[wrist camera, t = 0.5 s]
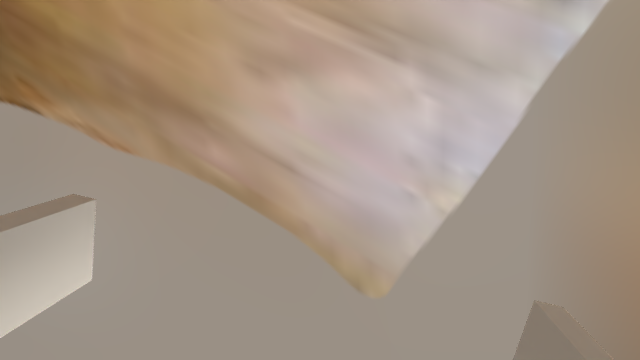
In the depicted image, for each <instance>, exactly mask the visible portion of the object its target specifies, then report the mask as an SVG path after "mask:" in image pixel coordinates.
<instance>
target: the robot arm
mask: <svg viewBox="0 0 640 360" xmlns="http://www.w3.org/2000/svg"><path fill="white" fill-rule="evenodd" d="M95 211H96V199H92V198H88V197H84V196H80V195H75V194H72V195H68V196H65V197H62V198H58V199H55V200H52V201H48V202H45V203H42V204H39V205H35V206H32V207H28V208H25V209H22V210H18V211H15V212H12V213H8V214H5V215H2V216H0V338H1V337H3V336H4V335H6V334H7V333H9V332H10V331H12V330H13V329H15V328H17V327H18V326H20V325H21V324H23V323H25V322H26V321H28V320H29V319H31V318H33V317H34V316H36V315H37V314H39V313H40V312H42V311H43V310H45V309H47V308H48V307H50V306H52V305H53V304H55V303H56V302H58V301H59V300H61V299H62V298H64V297H66V296H67V295H69V294H70V293H72V292H73V291H75V290H77V289H78V288H80V287H82V286H83V285H85V284H86V283H88V282H89V281H91V280H92V271H93V270H92V269H93V268H92V267H93V250H94V230H95ZM513 360H614V359H613V358H612V357H611V356H610V355H609V354H608V353H607V352H606V351H605V350H604V349H603V348H602V347H601V345H600V344H599V343H598V342H597V341H595V339H594V338H593V337H592V336H591V335H590V334H589V333H588V332H587V331H586V330H585V329H584V328H583V327H582V326H581V325H580V324H579V323H578V322H577V321H576V320H575V319H574V318H573V317H572V316H571V315H570V314H569V313H568V312H567V311H566V310H565V309H564V308H563V307H560V306H556V305H552V304H547V303H542V302H539V301H534V303H533V306H532V308H531V312H530V314H529V317H528V319H527V322H526V325H525V328H524V331H523V333H522V336H521V339H520V342H519V345H518V347H517V350H516V353H515V355H514V358H513Z"/></svg>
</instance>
